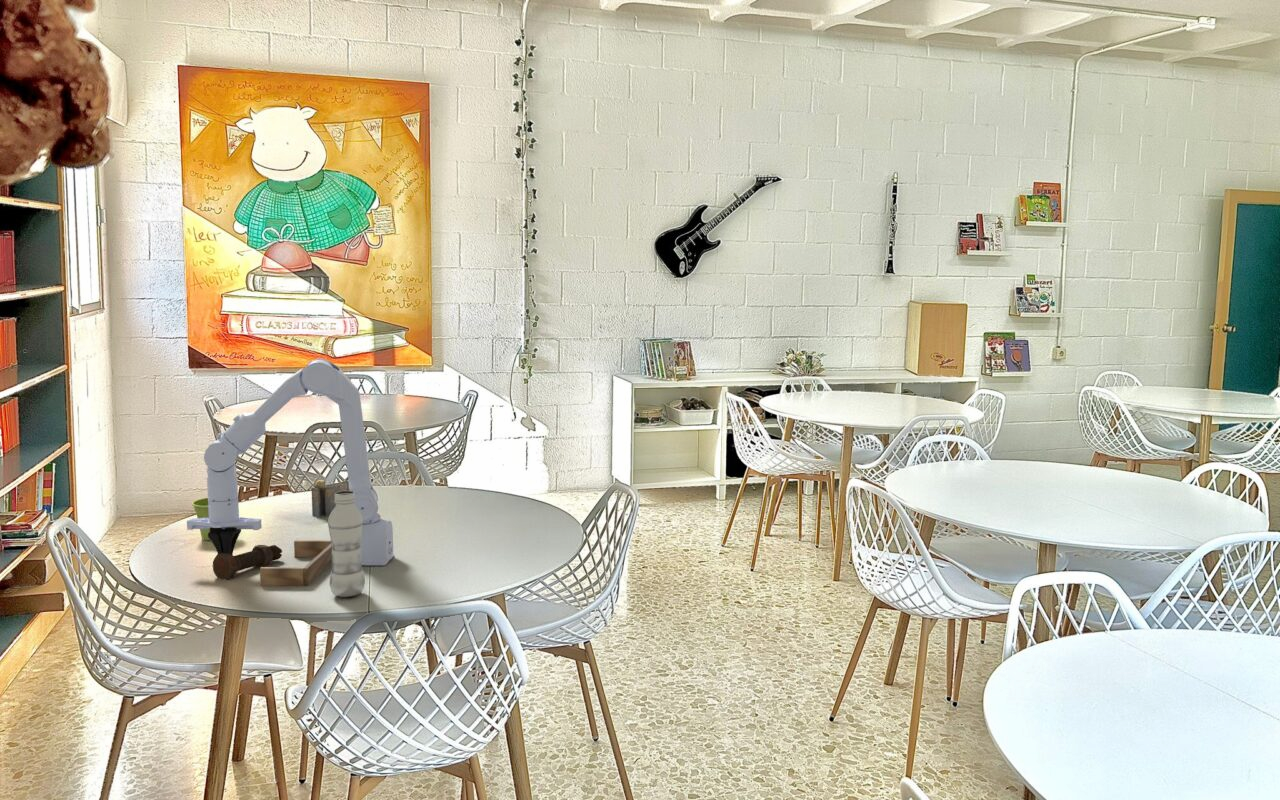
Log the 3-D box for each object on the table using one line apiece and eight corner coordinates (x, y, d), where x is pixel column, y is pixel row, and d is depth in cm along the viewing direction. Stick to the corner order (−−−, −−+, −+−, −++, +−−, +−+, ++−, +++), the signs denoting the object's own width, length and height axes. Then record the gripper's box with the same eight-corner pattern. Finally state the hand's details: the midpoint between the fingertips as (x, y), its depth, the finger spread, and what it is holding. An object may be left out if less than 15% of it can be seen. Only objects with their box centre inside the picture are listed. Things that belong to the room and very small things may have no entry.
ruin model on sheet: (319, 519, 251) (318, 481, 250) (312, 517, 253) (311, 479, 252) (357, 510, 260) (356, 474, 259) (349, 509, 262) (348, 472, 260)
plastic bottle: (369, 590, 194) (367, 489, 192) (358, 601, 188) (355, 496, 185) (337, 589, 195) (333, 488, 192) (324, 600, 188) (321, 496, 185)
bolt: (280, 569, 214) (224, 586, 200) (265, 555, 216) (208, 571, 202) (290, 547, 212) (234, 563, 199) (275, 533, 214) (218, 548, 200)
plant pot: (228, 543, 227) (226, 505, 226) (186, 543, 227) (184, 505, 226) (244, 532, 236) (242, 496, 235) (204, 532, 236) (202, 496, 235)
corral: (338, 556, 217) (337, 540, 217) (307, 585, 197) (306, 568, 196) (295, 556, 217) (295, 540, 217) (260, 585, 197) (259, 568, 196)
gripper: (178, 503, 201) (182, 568, 203) (251, 503, 201) (254, 569, 203) (194, 495, 208) (197, 558, 210) (264, 495, 208) (266, 559, 210)
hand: (226, 563), depth 207 cm, fingers closed
